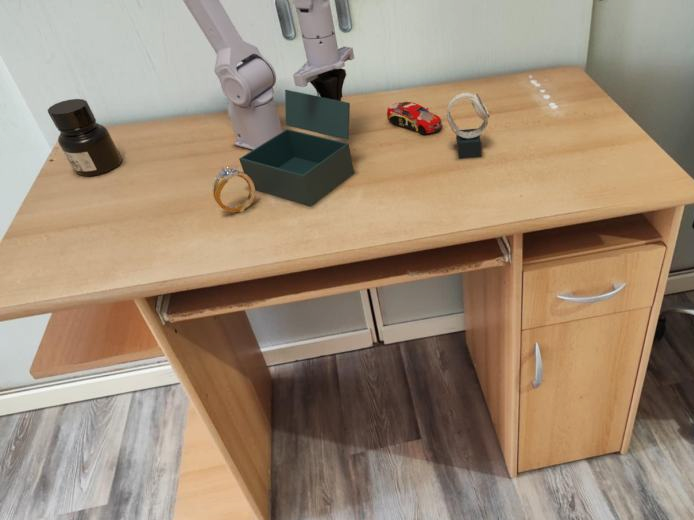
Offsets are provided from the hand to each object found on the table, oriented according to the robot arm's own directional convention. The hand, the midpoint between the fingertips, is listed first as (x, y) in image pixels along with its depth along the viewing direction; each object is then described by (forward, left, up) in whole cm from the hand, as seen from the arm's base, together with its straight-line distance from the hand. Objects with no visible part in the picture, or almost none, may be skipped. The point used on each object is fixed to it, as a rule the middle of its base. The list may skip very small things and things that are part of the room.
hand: (334, 111), depth 109 cm
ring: (-4, -24, -9) cm, 26 cm away
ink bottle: (-42, -25, -9) cm, 50 cm away
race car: (+7, +17, -9) cm, 20 cm away
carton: (0, -12, -8) cm, 14 cm away
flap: (0, -4, +1) cm, 5 cm away
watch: (+23, +11, -9) cm, 27 cm away
